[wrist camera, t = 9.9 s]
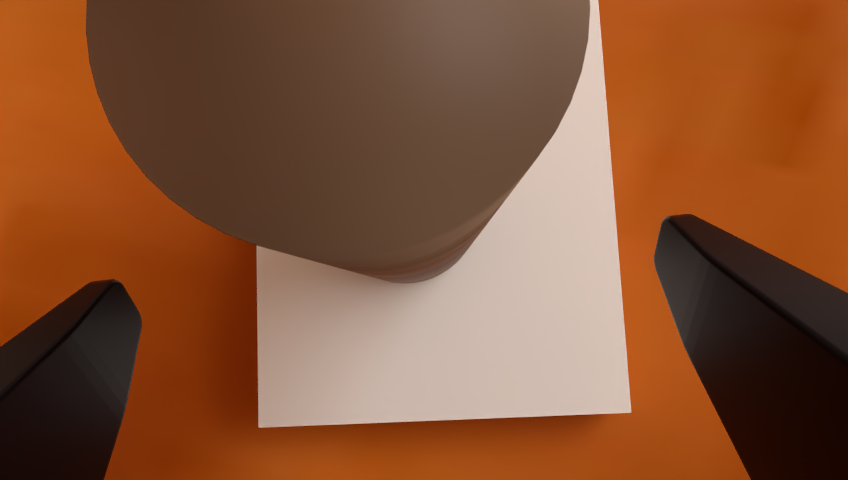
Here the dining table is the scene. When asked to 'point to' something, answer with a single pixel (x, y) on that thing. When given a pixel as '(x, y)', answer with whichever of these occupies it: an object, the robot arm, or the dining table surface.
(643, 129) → the dining table surface
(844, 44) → the dining table surface
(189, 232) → the dining table surface
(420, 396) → the stone slab
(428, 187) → the walnut roller
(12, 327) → the dining table surface
